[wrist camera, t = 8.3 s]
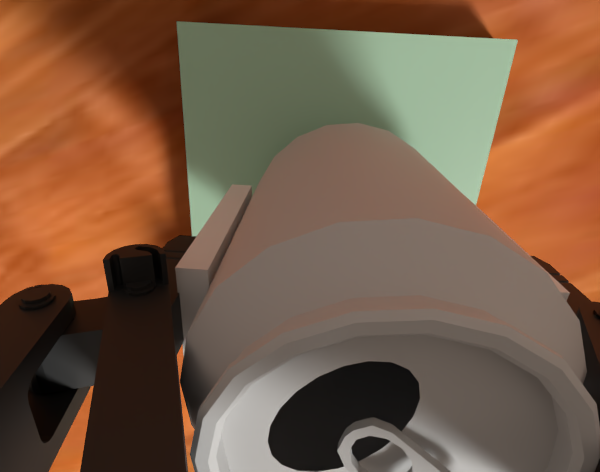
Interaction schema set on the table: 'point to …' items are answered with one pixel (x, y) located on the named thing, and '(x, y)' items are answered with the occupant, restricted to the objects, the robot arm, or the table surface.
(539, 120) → the table surface
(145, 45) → the table surface
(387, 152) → the can
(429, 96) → the board
